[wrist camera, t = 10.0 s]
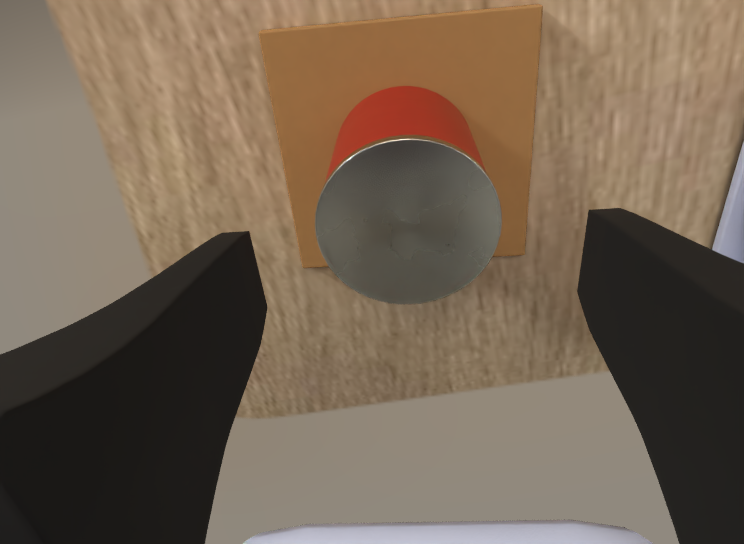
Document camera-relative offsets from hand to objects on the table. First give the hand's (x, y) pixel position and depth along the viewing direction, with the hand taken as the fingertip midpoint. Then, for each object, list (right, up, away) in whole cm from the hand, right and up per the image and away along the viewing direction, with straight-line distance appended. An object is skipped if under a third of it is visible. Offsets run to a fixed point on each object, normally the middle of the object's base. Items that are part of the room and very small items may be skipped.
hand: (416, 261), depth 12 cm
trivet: (0, +4, +6) cm, 7 cm away
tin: (0, +3, +6) cm, 7 cm away
